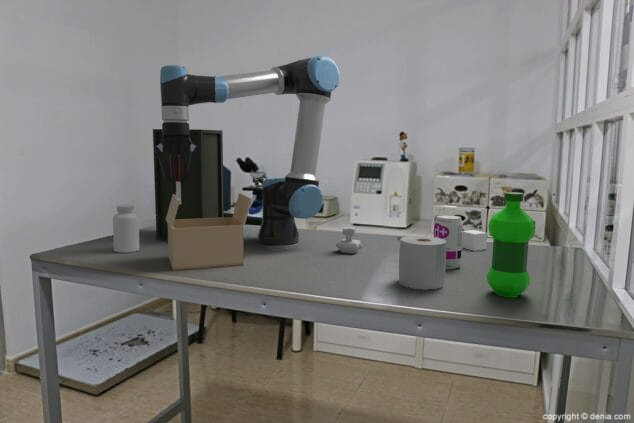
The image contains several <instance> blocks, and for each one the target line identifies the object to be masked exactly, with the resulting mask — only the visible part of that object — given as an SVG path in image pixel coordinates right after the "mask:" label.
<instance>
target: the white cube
mask: <svg viewBox="0 0 634 423" xmlns="http://www.w3.org/2000/svg"><path fill="white" fill-rule="evenodd" d="M487 239H488V233H487V232H484V231H481V230H476V229H472V230H470V229H469V230H462V247H464V248H467V249H470V250H469V251H471V250H480V251H483V250H482V249H486V250H487V244H488V242H487V241H488V240H487ZM467 249H466V250H467Z"/></svg>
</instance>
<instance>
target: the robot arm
mask: <svg viewBox="0 0 634 423" xmlns="http://www.w3.org/2000/svg"><path fill="white" fill-rule="evenodd" d="M159 78H160V80H159V85H160V98H161V99H160V101H161V104H160V105H161V106H160V107H161V110H160V111H161V120H162V121H163V122H162V123H161V129H162V136H163V137H162V140H161V144H159V145H158V146H156V147H154V151H155V152H156V153H157V155H158V158H159V161H160V164H161V167H162V171H163V174H164V177H165V179H167V180H170V181H171V185H172V192H173V193H176V198H178V199H179V200H180V202H179V204H181V192H184V191H185V189H184V182H185V180H188V179H190V178H191V174H192V169H193V165H194V161H195V156H196V154H197V152H198V151H199V147H197V146H195V145H194V144H192V141H191V139H190V132H189V129H190V123H189V122H188V121H190V113H189V112H190V111H189V110H190V108H189V107H190V106H194V105H197V104H206V103H214V104H220V103H221V104H223V103H225V102H226V101H227V100H232V99H238V98H245V97H254V96H259V95H267V94H275V95H276V96H280V95H295V96H296V98H297V100H299V105H298V106H299V107H298V114H297V119H296V120H297V121H296V126H295V128H296V129H295V136H294V142H293V143H294V144H293V148H292V149H293V150H292V158H291V164H290V165H291V166H290V171H289V173H287V174H286V175H285V177H274V178H266V179H264V180H263V181H262V186H261V187H262V188H261V191H262V192H261V193H262V194H261V196H262V200H261V201H262V203H261V204H262V206H261V207H262V211H261V212H262V220H261V224H260V227H259V230H258V233H257V243H260V244H263V245H265V244H266V245H273V246H275V245H276V246H278V245H280V246H281V245H283V246H284V245H292V244H296V243H299V242H300V234H299V231H298V227H297V224H296V221H295V219H304V220H305V219H306V220H307V219H311V218H313V217H315V216H316V215H317V214H318V213H319V212H320V210H321V208H322V206H323V204H324V194H323V192H322V190H321V189H320V188H319V184H320V183H319V182H320V180H319V178H318V177H317V175H316V172H317V165H318V161H319V160H318V158H319V152H320V151H319V150H320V144H321V137H322V130H323V123H324V115H325V108H326V104H328V103H329V102H330V101H331V97H332V92H333V91H335V89H336V88H337V87H339V84H340V80H341V73H340V69H339V67H338V66H337V64H336V62H335V60H333V59H332V58H330V57H328V56H326V55H314V56H311V57H308V58H304V59H299V60H295V61H291V62H289V63H286V64H283V65H278V66H273V67H271V69H270V70H269V69H268V70H262V71H254V72H247V73H246V72H245V73H236V74H227V75H221V76H216V75H215V76H212V75H211V76H209V75H197V74H195V75H194V74H189V72H188V67H186V66H181V65H175V64H172V65H169V64H168V65H163V66H162V67H161V68H160V74H159ZM162 147H164V148H165V150H166V151H167V152H168V153H169V154H170V168H171V176H169V174H168V170H167V167H166V164H165V161H164V157H163V154H162V151H163V149H162ZM189 147H190V151H191V154H190V158H189V163H188V167H187V171H186V175H185V176H184V154H185V153H186V151H187V150H188V148H189ZM154 151H153V152H154ZM175 154H178V156H179V181H176V165H175Z"/></svg>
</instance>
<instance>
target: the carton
mask: <svg viewBox="0 0 634 423" xmlns="http://www.w3.org/2000/svg"><path fill="white" fill-rule="evenodd" d="M167 242H168V243H167V244H168V245H167V246H168V247H167V248H168V249H167V250H168V259H169V262H170V265H171V268H172V270H173V271H175V272H177V271H185V270H201V269H210V268H211V269H214V268H223V267H224V268H225V267H237V266H244V265H245V264H244V225H243V224H241V223H240V222H239V221H237V220H236V219H235V218H233V216H228V217H227V216H226V217H225V216H224V217H223V218H200V219H177V220H174V223H173V227H172V228H170V227H169V225H168V240H167Z"/></svg>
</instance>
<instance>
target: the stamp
mask: <svg viewBox="0 0 634 423" xmlns="http://www.w3.org/2000/svg"><path fill="white" fill-rule="evenodd" d="M356 233H357V227H354V226H345V227H343V228H342V235H343V236H345V237H346V238H342V239H341V240H340V241H339V242H337V243H336V244H335V247H336V248H338V250H339V251H340V252H341V253H343V254H349V255H350V254H355V253H357V251H358V250H362V249H363V247H364V246H363V244H362V243H361V240H360V239H353V236H354V235H355V234H356Z"/></svg>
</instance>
